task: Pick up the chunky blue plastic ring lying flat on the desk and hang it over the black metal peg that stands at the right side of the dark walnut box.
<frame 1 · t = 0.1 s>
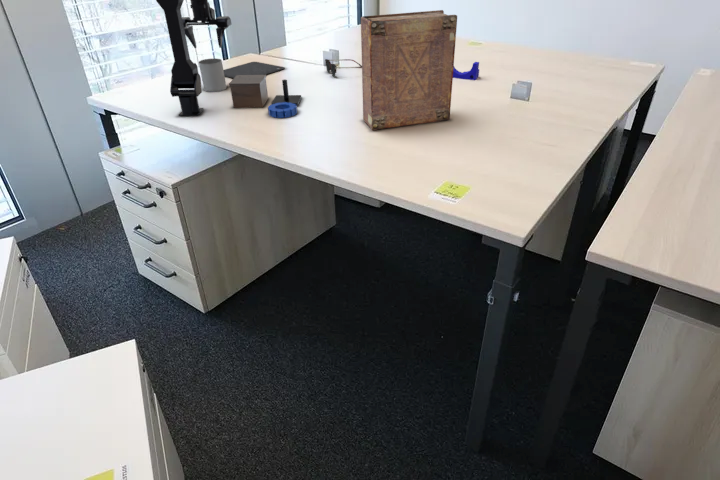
hand: (208, 47, 175), 15 cm above the table, tool pointing down, fingers open, 9 cm apart
mouse pad: (250, 71, 203), on the table
peg stand: (286, 102, 167), on the table
book: (405, 121, 149), on the table
sunglasses: (348, 73, 198), on the table
ring: (283, 113, 158), on the table
box: (251, 102, 167), on the table
cup: (215, 88, 183), on the table
cable clip: (461, 77, 188), on the table
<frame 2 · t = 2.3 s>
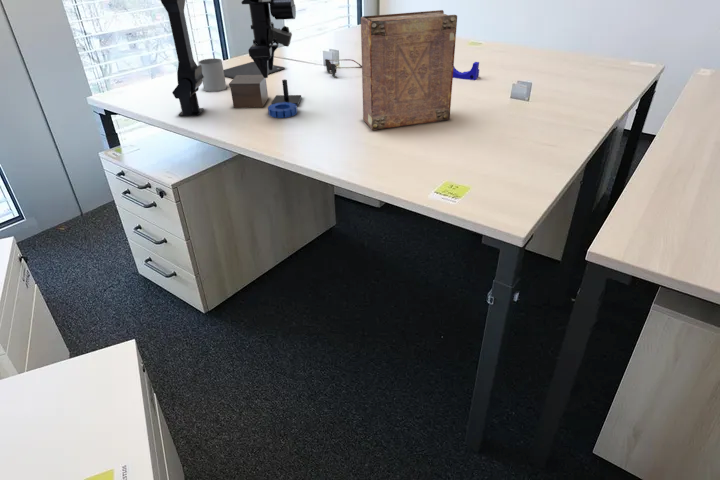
hand: (268, 73, 151), 13 cm above the table, tool pointing down, fingers open, 9 cm apart
nothing on the table moved.
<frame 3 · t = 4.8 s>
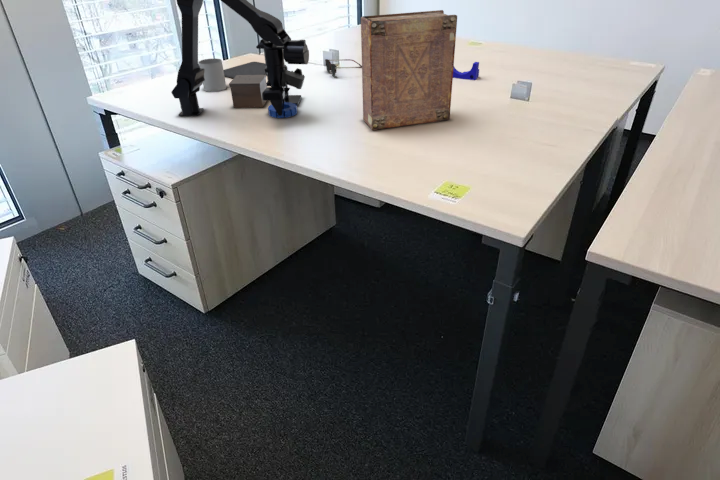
hand: (280, 113, 154), 1 cm above the table, tool pointing down, fingers closed on ring, 2 cm apart
ring: (283, 113, 158), on the table, touching gripper
everything else where it was.
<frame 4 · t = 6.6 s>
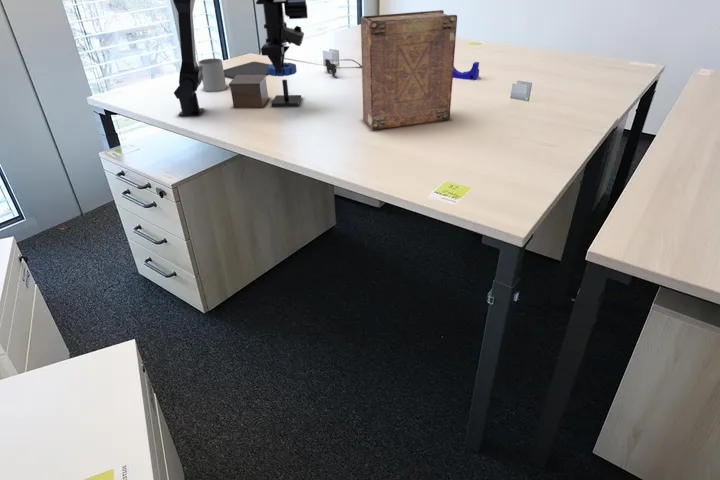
hand: (280, 72, 155), 12 cm above the table, tool pointing down, fingers closed on ring, 2 cm apart
ring: (282, 72, 158), point 11 cm above the table, touching gripper
everything else where it was.
when the fingers open (7 cm above the table, at t = 8.6 s): ring drops 4 cm, resting on peg stand.
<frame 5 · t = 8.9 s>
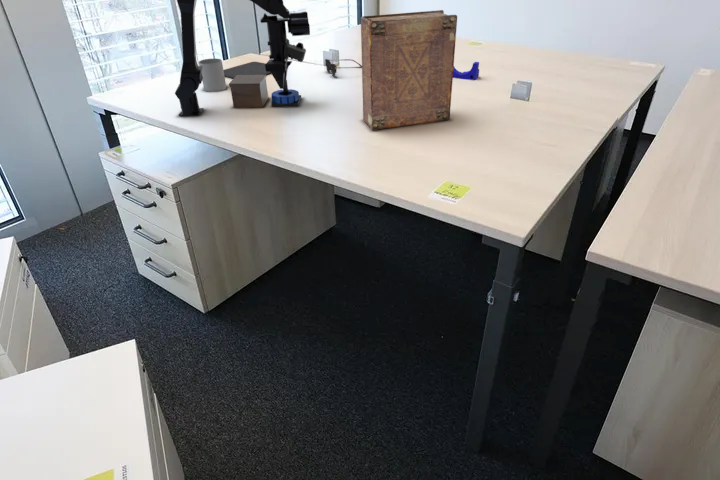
hand: (283, 86, 160), 7 cm above the table, tool pointing down, fingers open, 4 cm apart
ring: (285, 99, 166), point 1 cm above the table, touching peg stand
everything else where it was.
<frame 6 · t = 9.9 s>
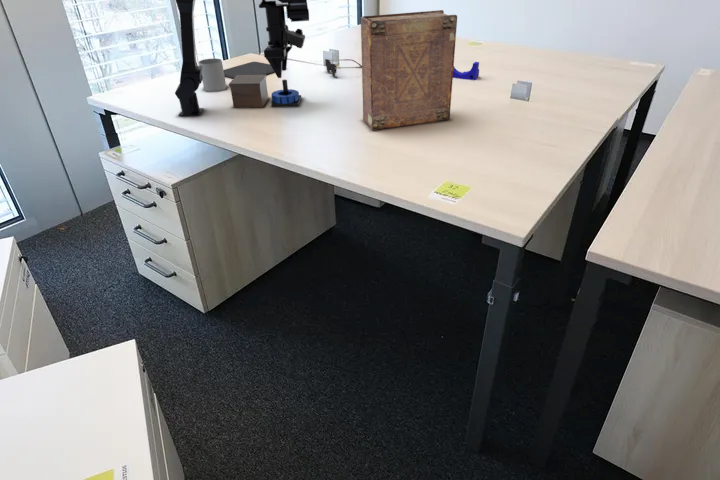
hand: (282, 74, 158), 11 cm above the table, tool pointing down, fingers open, 9 cm apart
nothing on the table moved.
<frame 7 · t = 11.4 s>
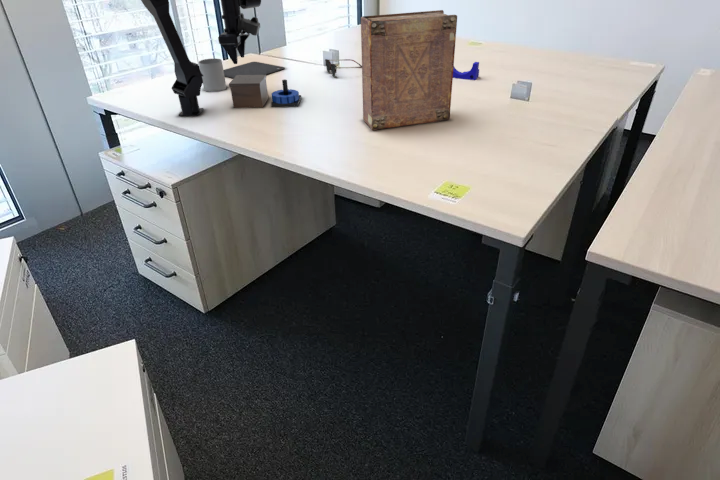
hand: (239, 60, 165), 13 cm above the table, tool pointing down, fingers open, 9 cm apart
nothing on the table moved.
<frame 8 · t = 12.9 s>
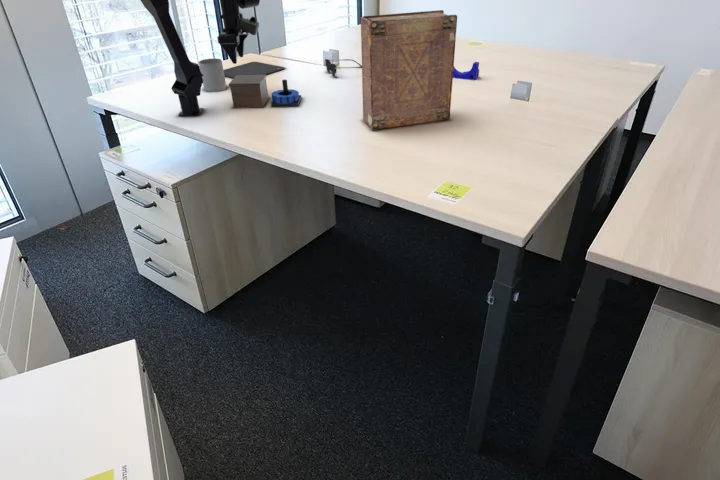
hand: (238, 60, 165), 13 cm above the table, tool pointing down, fingers open, 9 cm apart
nothing on the table moved.
at the end: ring 0.5 cm from the peg stand (horizontally); ring point 1.2 cm above the table; the gripper is holding nothing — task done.
